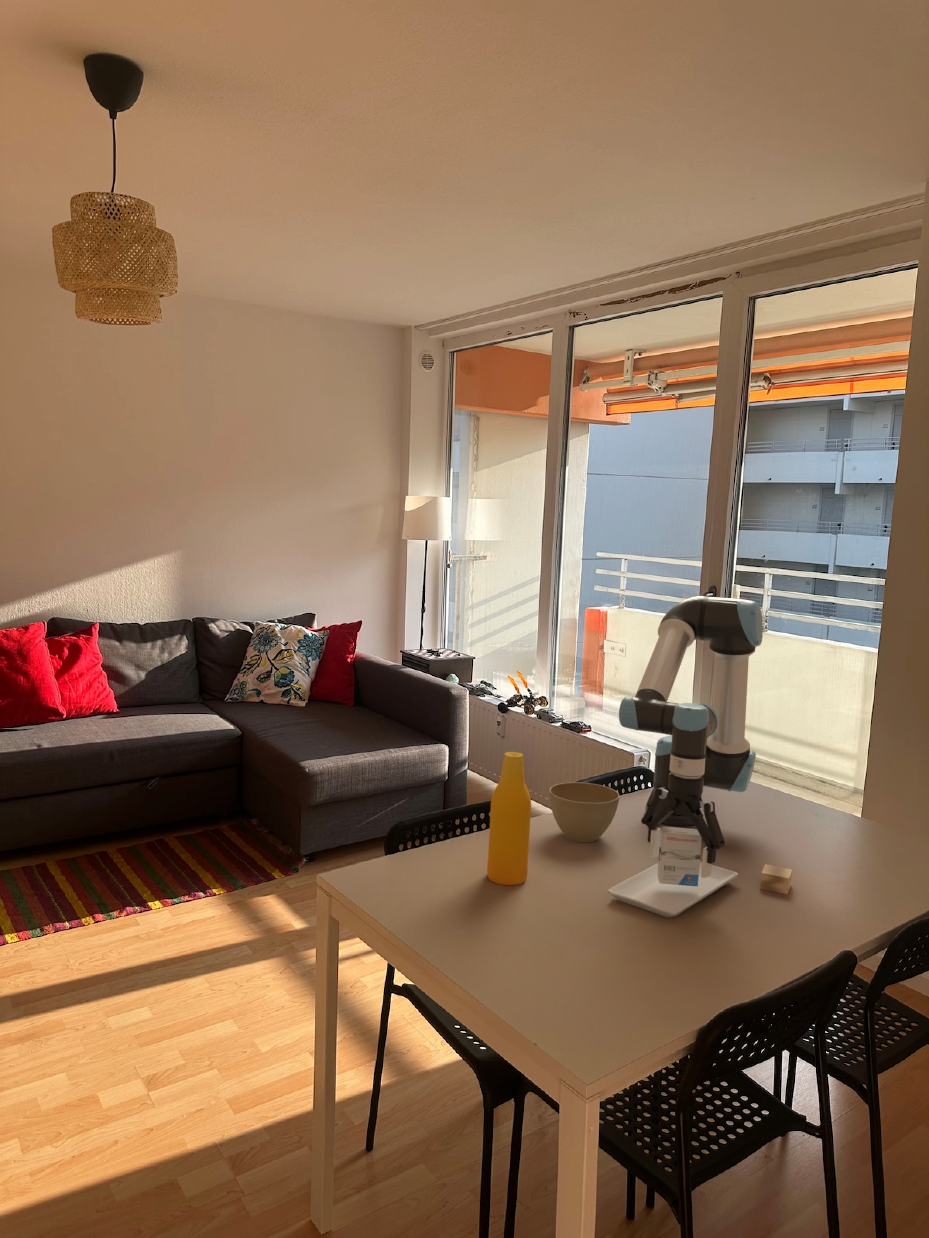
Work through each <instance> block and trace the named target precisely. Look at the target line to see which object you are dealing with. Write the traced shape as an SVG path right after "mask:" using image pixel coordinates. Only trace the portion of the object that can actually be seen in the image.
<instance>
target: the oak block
mask: <svg viewBox="0 0 929 1238" xmlns="http://www.w3.org/2000/svg"><path fill="white" fill-rule="evenodd" d="M792 876H793V869H790V868H786V867H780V866H777V865H771V864H766V863H765V864H764V866H763V868H762V871H761V875H760V890H765V891H771V892H773V893H774V892H775V893H780V894H784V895H789V891H790V888H791V885H792Z"/></svg>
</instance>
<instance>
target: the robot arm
mask: <svg viewBox="0 0 929 1238" xmlns="http://www.w3.org/2000/svg"><path fill="white" fill-rule="evenodd" d="M763 631H764V624H763V615H762V610H761V606H760V605H759V603H758V602H756V601H754V600H749V599H748V600H747V599H744V598H733V597H732V598H730V597H715V596H704V595H697V596H692V597H689V598H686V599H684V600H682V601H680V602H679V603H677V604H676V605H674V606H673V607H672V608H670V609H669V610H668V612H666V613H665V615H664V616H663V617H662V619H661V620H660V623H659V626H658V628H657V635H658V636H657V637H658V638H657V642H655V643H656V644H655V646H654V648H653V651H652V653H651V657H650V659H649V661H648V663H647V666H646V668H645V671H644V674H643V675H642V678H641V680H640V683H639V685H638V689H637V690H636V693H635V695H634V696H625V697H624V698H622V700H621V702H620V704H619V710H618V720H619V724H620V726H621V727H623V728H626V729H630V730H634V731H639V732H640V731H641V732H647V733H649V732H650V733H655V734H662V735H663V734H664V735H665V736H662V737H661V738H659V739H658V740H657V742H656V748H655V753H654V756H655V757H654V772H653V785H652V786H653V788H652V790H651V791H650V795H649V797H648V799H647V801H646V804H645V809H644V810H645V811H644V815H643V817H642V819H641V820H640V822H641V824H642V825H645V826H646V827H647V829H648V831H647V833H648V834H647V842H648V843H649V853H648V854H649V855H648V859H652V860H653V859H655V858H659V846H660V834H661V827H660V825H661V824H665V825H669V826H680V827H681V826H682V827H683V826H692V825H694V827H695V829H697V830H698V832H699V834H700V836H701V837H702V841H703V843H704V844H705V847H704V848H703V851H702V861H701V862H702V872H701V877H702V878H706V877H708V876H710V875H711V868H712V865H713V864H714V863H715V862H716V859H717V858H716V857H717V856H716V855H717V850H720V849H722V848H725V847H726V842H725V839H724V836H723V833H722V830H721V827H720V823H719V821H718V817H717V813H716V804H715V802H714V801H709V802H707V801H704V800H703V797H702V794H703V791H704V788H711V789H717V790H721V791H727V792H728V793H731V792H736V793H737V792H738V793H743V792H746V791H747V789H748V788H749V784H750V782H751V779H752V775H753V771H754V766H755V763H756V758H757V757H756V756H757V755H756V753H757V752H756V751H754V750H751V743H750V742H749V740H748V739H746V737H745V736H746V720H747V719H746V717H747V714H746V713H747V696H748V679H749V678H748V677H749V658H750V656H751V655H753V654H754V653H756V648H757V647H760V646H761V645H762V643H763V638H764V637H763ZM696 640H697V641H698V640H699V641H705V642H709V646H708V647H709V650H710V651H711V653H713V654H714V671H713V674H714V675H713V697H712V699H713V700H712V706H711V705H709V704H706V703H693V702H683V703H677V702H671V701H668V700H669V697H670V695H671V692H672V689H673V687H674V684H675V682H676V680H677V679H676V678H677V675H678V673H679V670H680V667H681V665H682V662H683V660H684V657H685V654H686V652H687V649H688V648H689V647H690V646H691V645H693V644H694V642H695V641H696ZM703 812H704V813H703Z"/></svg>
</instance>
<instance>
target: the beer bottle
mask: <svg viewBox="0 0 929 1238" xmlns="http://www.w3.org/2000/svg"><path fill="white" fill-rule="evenodd" d="M524 765H525V764H524V754H523V753H521V752H517V751H507V752H504V755H503V762H502V767H501V774H500V778H499V780H498V783H497V785H496V787H495V789H494V790H493V793H492V797H491V800H490V813H489V814H490V817H489V831H488V832H489V834H488V835H489V837H488V854H487V855H488V856H487V868H486V870H487V871H486V872H487V877H488V880H490V881H491V882H493V883H495V884H498V885H502V886H518V885H522V884H523V883H525V882H526V880H527V879H528V878H527V877H528V867H529V848H530V847H529V846H530V833H531V832H530V830H531V815H532V814H531V813H532V812H531V811H532V801H531V800H532V798H531V795H530V792H529V789H528V786H527V784H526V781H525V767H524Z"/></svg>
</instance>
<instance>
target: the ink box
mask: <svg viewBox="0 0 929 1238" xmlns="http://www.w3.org/2000/svg"><path fill="white" fill-rule="evenodd" d="M660 829H661V833H660V846H659V856H658V857H657V860H658V861H657V863H658V872H657V876H658V880H659V883H661V884H673V885H686V886H698V879H699V867H700V862H701V853H702V852H701V851H702V841H703V839H702V837H701V836H700V834H699V832H698V830H697V828H685V827H675V826H666V825H665V826H663V825H662V826H660Z"/></svg>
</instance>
